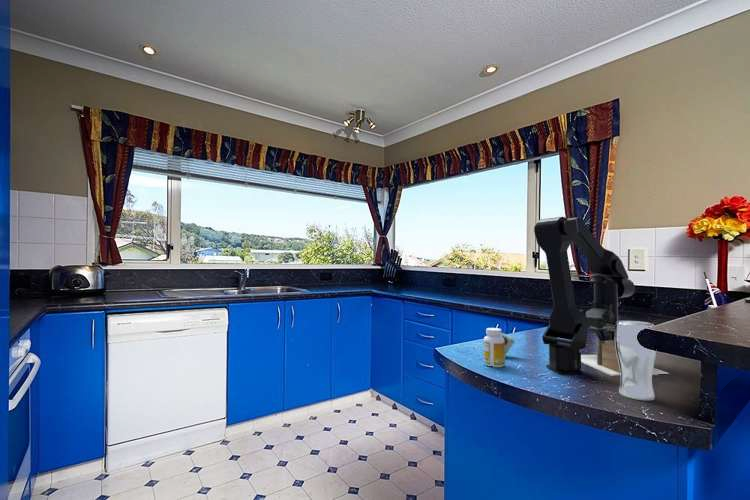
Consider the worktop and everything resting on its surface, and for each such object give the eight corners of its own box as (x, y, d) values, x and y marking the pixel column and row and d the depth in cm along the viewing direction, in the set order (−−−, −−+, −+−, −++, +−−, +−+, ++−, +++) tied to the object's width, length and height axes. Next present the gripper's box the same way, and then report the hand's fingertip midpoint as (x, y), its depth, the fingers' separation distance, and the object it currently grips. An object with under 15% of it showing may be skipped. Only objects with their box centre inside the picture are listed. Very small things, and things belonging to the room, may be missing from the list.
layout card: (612, 375, 86) (612, 373, 86) (568, 356, 104) (568, 354, 104) (668, 374, 87) (668, 372, 87) (615, 355, 105) (615, 354, 105)
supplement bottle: (506, 364, 96) (506, 328, 97) (502, 369, 92) (501, 331, 92) (487, 361, 99) (486, 326, 100) (481, 365, 95) (481, 329, 95)
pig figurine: (514, 354, 106) (514, 332, 107) (518, 358, 102) (517, 334, 103) (487, 353, 107) (486, 331, 108) (489, 357, 103) (489, 334, 104)
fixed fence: (627, 378, 84) (626, 350, 84) (595, 365, 95) (595, 340, 95) (634, 378, 84) (633, 350, 84) (602, 365, 95) (601, 340, 95)
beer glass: (608, 389, 77) (606, 320, 77) (638, 388, 77) (635, 320, 78) (634, 402, 70) (632, 326, 70) (667, 401, 70) (664, 325, 71)
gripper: (558, 297, 104) (558, 350, 104) (630, 305, 89) (631, 367, 88) (578, 295, 110) (578, 345, 110) (649, 302, 94) (649, 360, 94)
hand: (606, 353), depth 101 cm, fingers closed
